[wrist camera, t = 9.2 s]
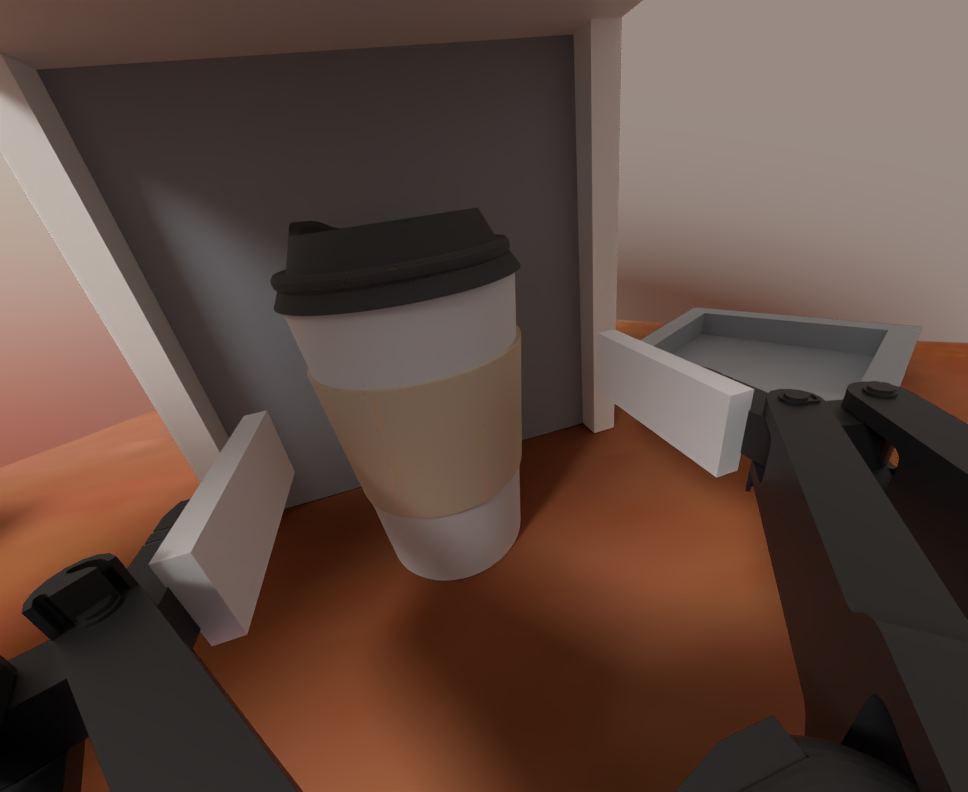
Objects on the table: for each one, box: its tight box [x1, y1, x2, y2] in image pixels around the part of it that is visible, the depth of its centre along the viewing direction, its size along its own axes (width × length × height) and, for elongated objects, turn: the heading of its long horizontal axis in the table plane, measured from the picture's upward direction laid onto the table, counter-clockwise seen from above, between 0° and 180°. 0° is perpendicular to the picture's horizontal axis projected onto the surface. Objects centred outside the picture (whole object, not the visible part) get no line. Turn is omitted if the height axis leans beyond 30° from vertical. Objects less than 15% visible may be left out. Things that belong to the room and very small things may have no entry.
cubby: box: [0, 0, 642, 509], centre depth 16 cm, size 24×11×22 cm, turn 106°
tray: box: [640, 307, 922, 401], centre depth 28 cm, size 15×15×3 cm
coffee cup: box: [270, 207, 522, 581], centre depth 17 cm, size 9×9×15 cm
